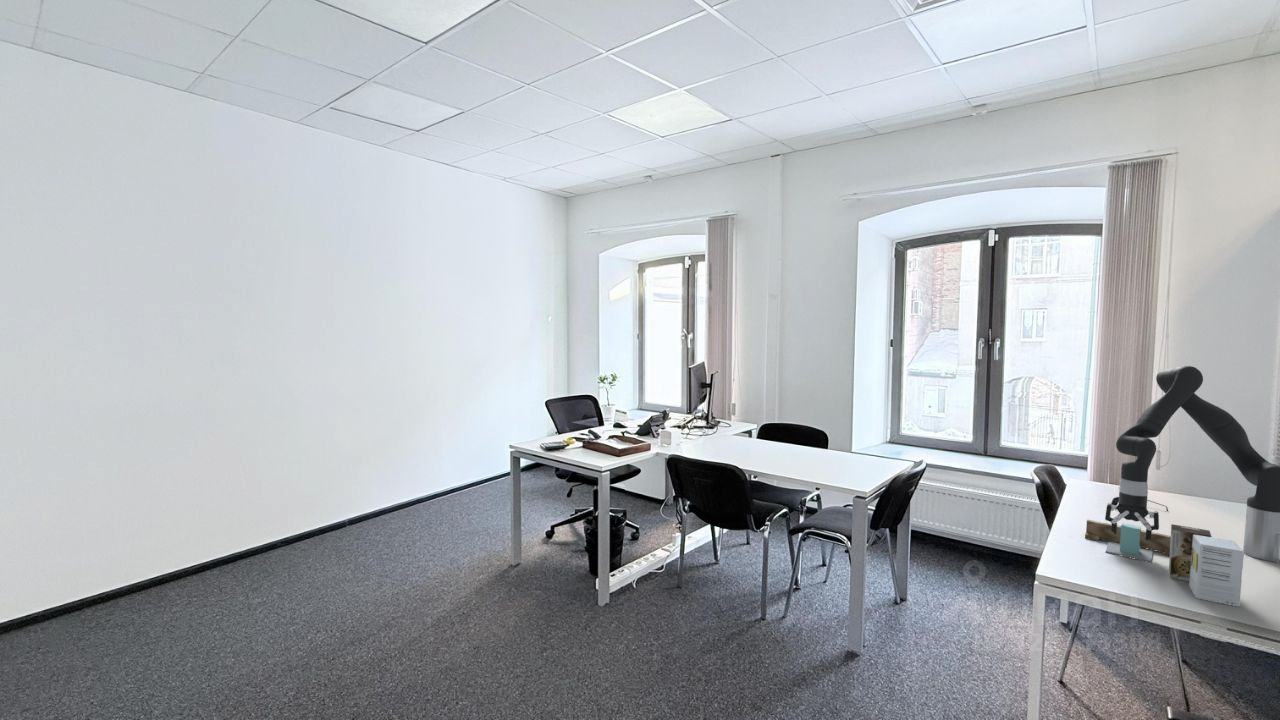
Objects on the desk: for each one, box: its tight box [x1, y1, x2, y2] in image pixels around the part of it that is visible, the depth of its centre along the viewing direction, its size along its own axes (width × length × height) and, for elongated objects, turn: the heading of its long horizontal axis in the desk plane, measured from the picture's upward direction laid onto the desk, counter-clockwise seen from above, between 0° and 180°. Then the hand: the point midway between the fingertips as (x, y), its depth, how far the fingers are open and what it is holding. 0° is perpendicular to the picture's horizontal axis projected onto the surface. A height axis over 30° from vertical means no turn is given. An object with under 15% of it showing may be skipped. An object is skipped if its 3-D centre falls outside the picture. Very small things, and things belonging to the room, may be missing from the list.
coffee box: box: [1168, 523, 1213, 582], centre depth 177 cm, size 9×6×16 cm
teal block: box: [1119, 522, 1142, 555], centre depth 197 cm, size 5×5×9 cm
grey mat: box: [1105, 541, 1154, 563], centre depth 197 cm, size 12×12×1 cm
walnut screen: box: [1084, 519, 1171, 557], centre depth 204 cm, size 26×8×6 cm, turn 45°
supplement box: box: [1188, 535, 1245, 608], centre depth 165 cm, size 10×9×17 cm
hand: (1130, 536), depth 197 cm, fingers open, 8 cm apart
